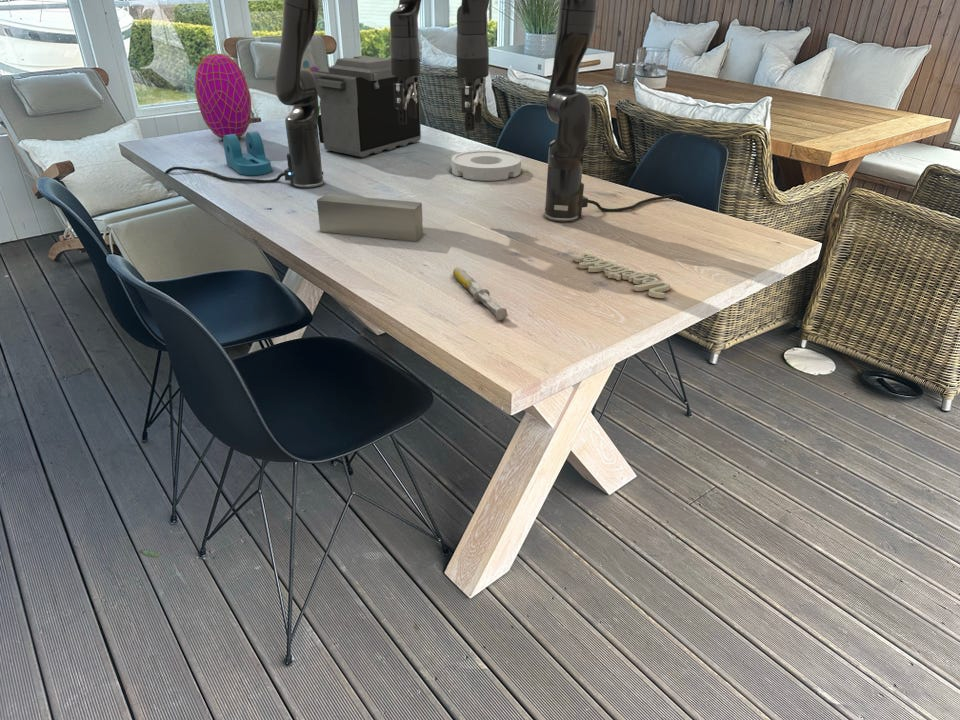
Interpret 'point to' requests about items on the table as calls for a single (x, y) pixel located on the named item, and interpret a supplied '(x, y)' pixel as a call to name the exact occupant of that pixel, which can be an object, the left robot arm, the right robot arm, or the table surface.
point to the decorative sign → (625, 274)
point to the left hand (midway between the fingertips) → (407, 120)
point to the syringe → (479, 293)
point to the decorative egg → (223, 95)
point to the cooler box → (362, 108)
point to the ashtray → (486, 165)
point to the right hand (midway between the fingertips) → (473, 126)
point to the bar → (370, 217)
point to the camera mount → (246, 154)
